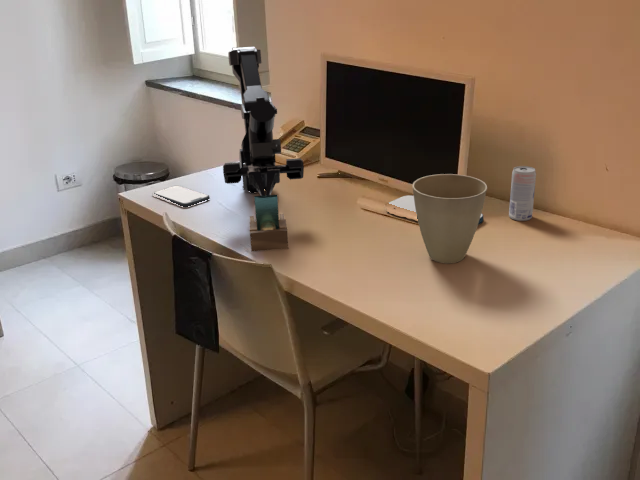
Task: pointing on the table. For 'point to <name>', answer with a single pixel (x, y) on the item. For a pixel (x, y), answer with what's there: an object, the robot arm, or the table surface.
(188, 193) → the phone case
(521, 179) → the energy drink
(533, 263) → the table surface
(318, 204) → the table surface
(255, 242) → the walnut track with socket
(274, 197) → the teal upright block
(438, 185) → the plant pot
